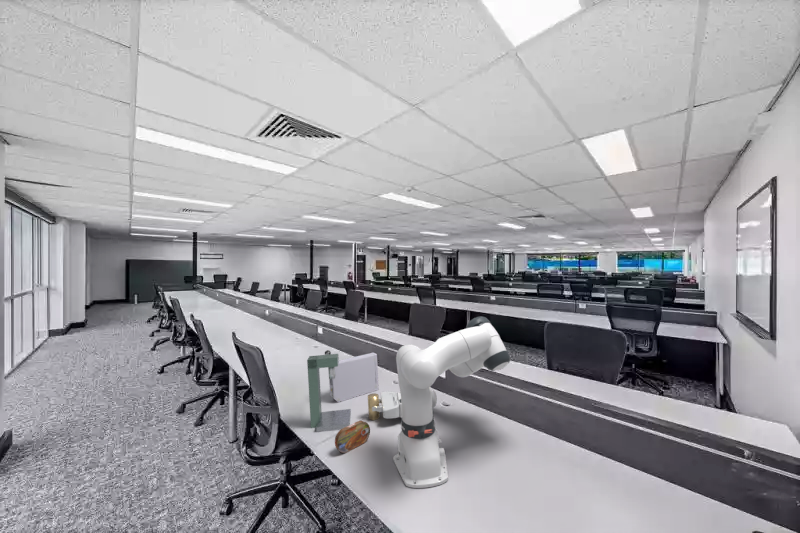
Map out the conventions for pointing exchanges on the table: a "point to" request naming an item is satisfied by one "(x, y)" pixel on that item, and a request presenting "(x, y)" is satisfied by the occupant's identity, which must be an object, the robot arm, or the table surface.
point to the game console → (355, 377)
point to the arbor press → (317, 417)
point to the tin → (352, 436)
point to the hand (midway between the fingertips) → (371, 405)
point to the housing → (373, 401)
